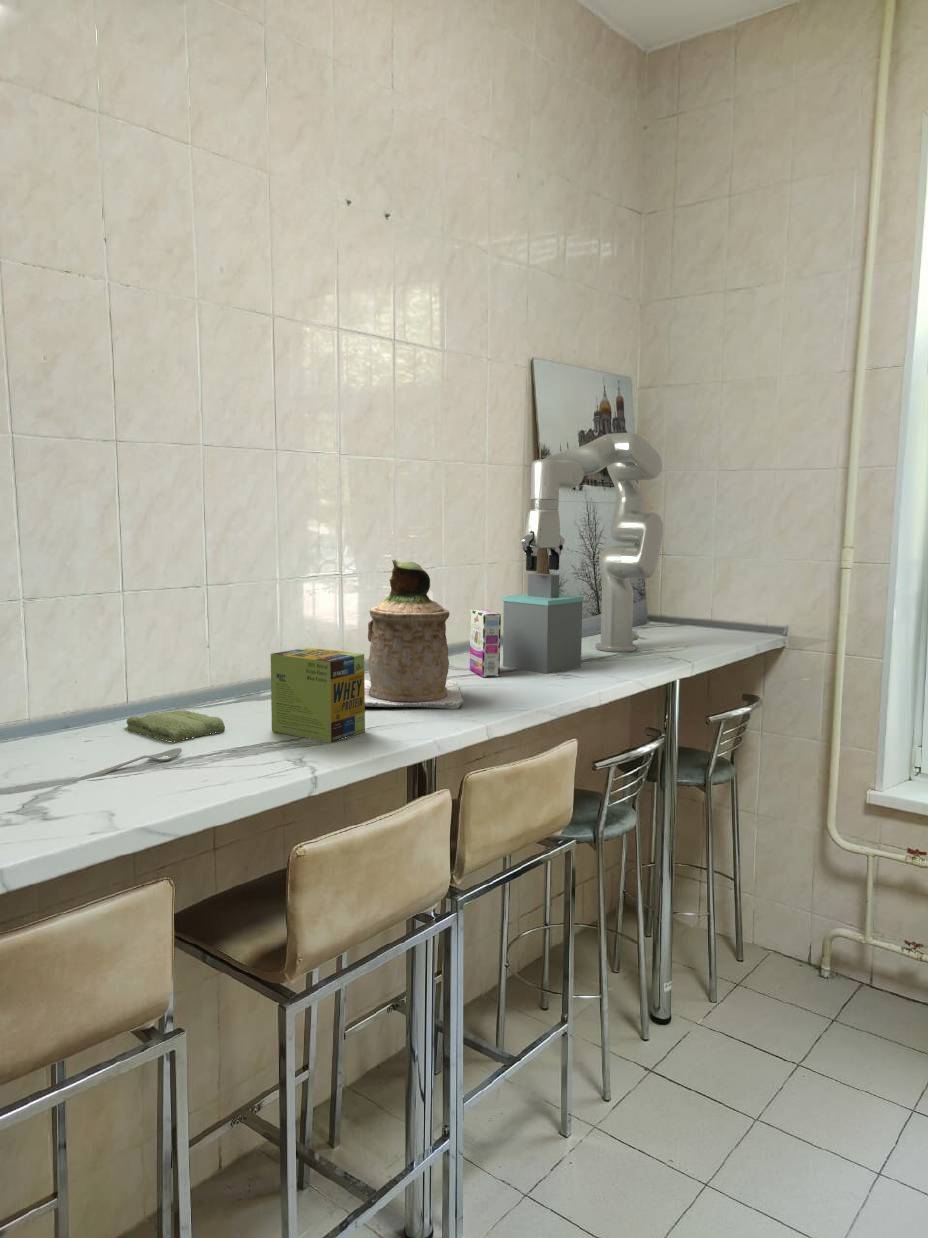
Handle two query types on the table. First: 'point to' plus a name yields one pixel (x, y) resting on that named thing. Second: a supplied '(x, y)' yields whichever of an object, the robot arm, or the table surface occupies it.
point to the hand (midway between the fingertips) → (542, 570)
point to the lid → (543, 591)
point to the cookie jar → (409, 646)
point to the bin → (542, 636)
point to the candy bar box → (485, 643)
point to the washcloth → (175, 725)
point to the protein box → (318, 693)
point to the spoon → (168, 753)
